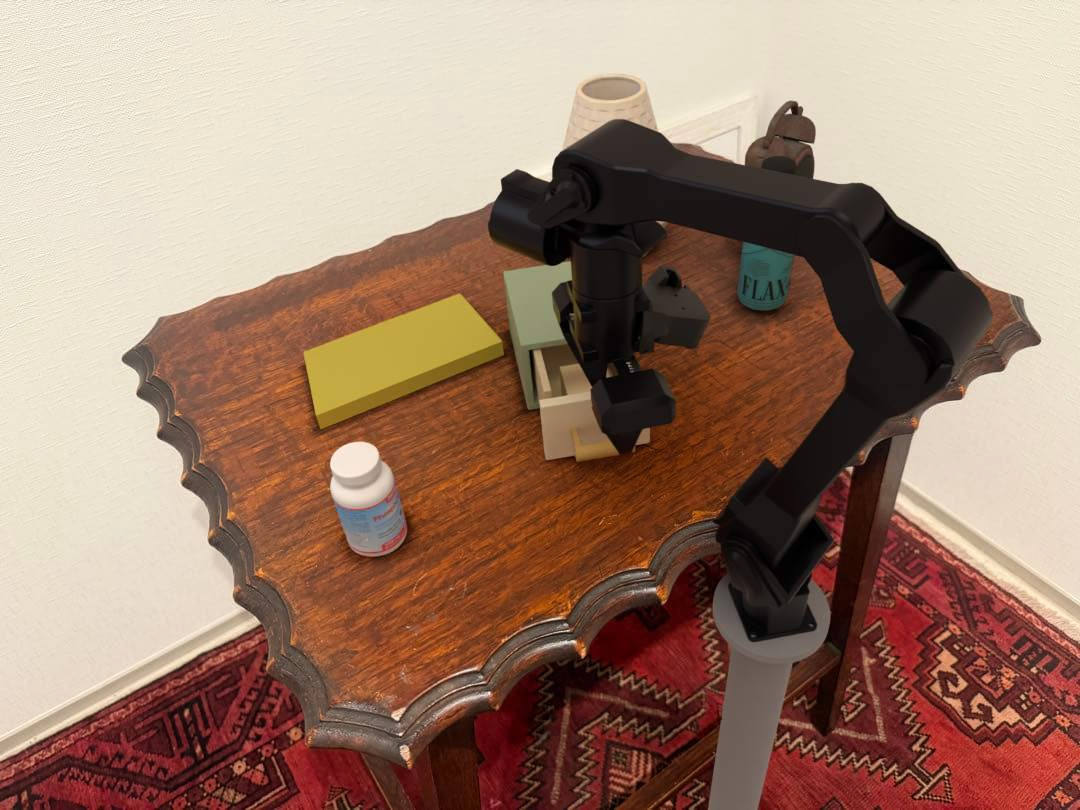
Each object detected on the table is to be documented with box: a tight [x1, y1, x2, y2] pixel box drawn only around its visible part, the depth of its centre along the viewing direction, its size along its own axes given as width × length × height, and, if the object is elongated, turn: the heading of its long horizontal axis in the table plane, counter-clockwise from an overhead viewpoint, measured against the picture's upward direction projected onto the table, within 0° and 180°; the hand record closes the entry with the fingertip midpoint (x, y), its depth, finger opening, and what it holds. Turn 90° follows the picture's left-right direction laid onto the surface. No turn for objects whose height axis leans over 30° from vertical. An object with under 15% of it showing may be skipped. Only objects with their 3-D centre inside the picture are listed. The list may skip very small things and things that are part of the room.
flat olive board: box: [303, 293, 505, 430], centre depth 107 cm, size 12×2×24 cm
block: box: [560, 364, 610, 396], centre depth 95 cm, size 5×5×5 cm
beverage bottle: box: [735, 156, 797, 311], centre depth 105 cm, size 6×7×20 cm
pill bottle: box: [329, 441, 408, 558], centre depth 84 cm, size 6×6×11 cm
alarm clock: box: [739, 99, 817, 254], centre depth 115 cm, size 15×7×20 cm, turn 147°
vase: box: [561, 73, 669, 259], centre depth 116 cm, size 18×17×23 cm
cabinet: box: [503, 260, 636, 411], centre depth 103 cm, size 15×13×10 cm
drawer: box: [530, 344, 651, 463], centre depth 94 cm, size 18×11×8 cm, turn 9°
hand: (611, 419), depth 81 cm, fingers open, 9 cm apart
